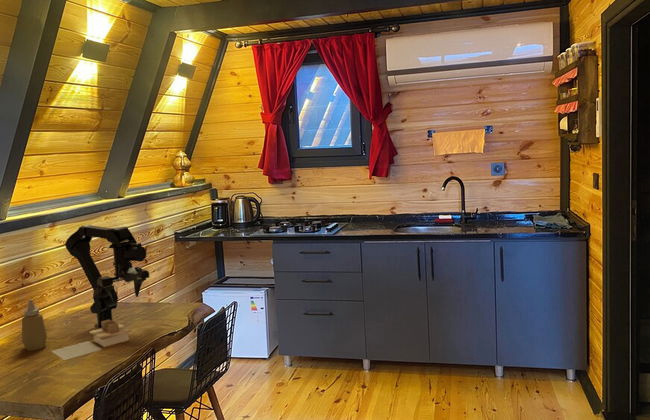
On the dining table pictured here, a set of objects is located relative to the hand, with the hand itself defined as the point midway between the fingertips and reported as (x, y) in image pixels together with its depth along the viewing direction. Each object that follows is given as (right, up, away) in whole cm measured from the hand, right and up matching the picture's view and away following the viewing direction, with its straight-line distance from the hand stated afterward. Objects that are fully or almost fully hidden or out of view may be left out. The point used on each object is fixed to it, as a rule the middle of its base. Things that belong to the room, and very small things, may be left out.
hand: (125, 299), depth 223 cm
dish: (-1, -14, -12) cm, 18 cm away
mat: (-10, -15, -21) cm, 27 cm away
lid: (-1, -10, -13) cm, 16 cm away
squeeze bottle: (-27, -16, -16) cm, 35 cm away
